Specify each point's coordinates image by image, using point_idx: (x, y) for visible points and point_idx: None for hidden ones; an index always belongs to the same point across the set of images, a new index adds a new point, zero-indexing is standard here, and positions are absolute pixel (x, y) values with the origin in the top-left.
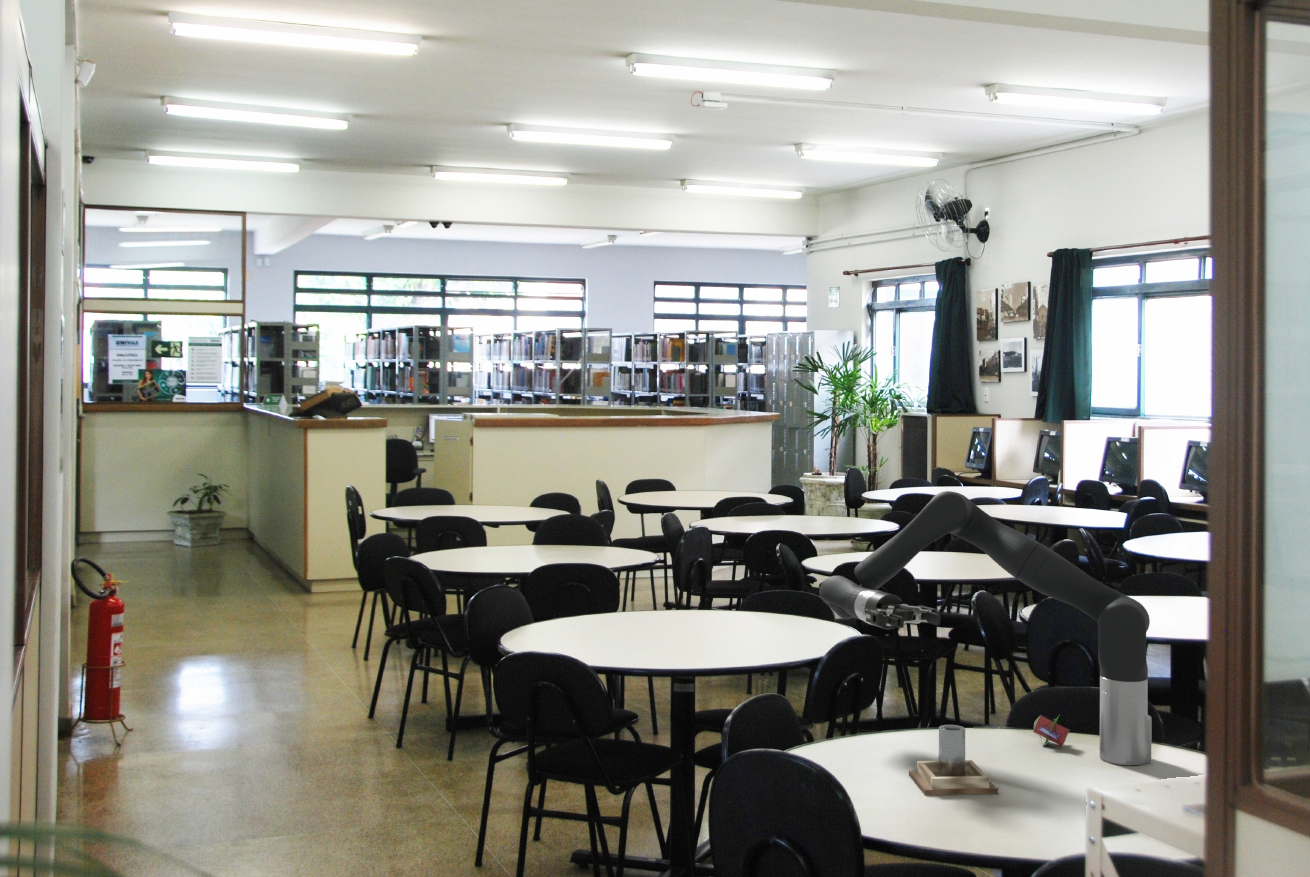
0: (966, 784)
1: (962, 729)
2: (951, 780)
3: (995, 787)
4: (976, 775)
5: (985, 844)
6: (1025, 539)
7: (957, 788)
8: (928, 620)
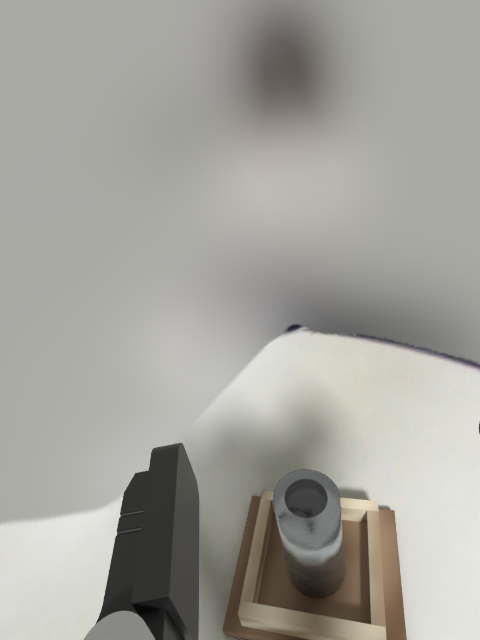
0: None
1: (284, 484)
2: None
3: (253, 502)
4: (266, 543)
5: (354, 355)
6: None
7: None
8: (192, 609)
